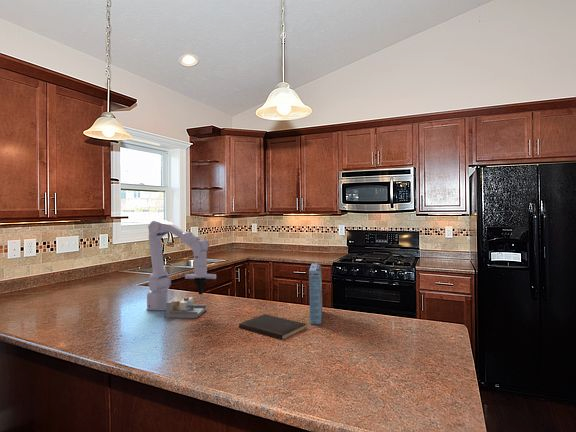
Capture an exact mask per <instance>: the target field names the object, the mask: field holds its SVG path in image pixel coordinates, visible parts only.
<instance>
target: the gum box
mask: <svg viewBox="0 0 576 432" xmlns="http://www.w3.org/2000/svg"><path fill="white" fill-rule="evenodd" d="M322 277H323V276H322V263H311V265H310V268H309V270H308V285H309V287H308V288H309V291H308V292H309V324H310V325H321V324H322V318H323V317H322V316H323V287H322V286H323V283H322V281H323V280H322Z"/></svg>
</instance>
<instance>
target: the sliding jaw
mask: <svg viewBox="0 0 576 432" xmlns="http://www.w3.org/2000/svg"><path fill="white" fill-rule="evenodd" d="M183 299H184V300H182V301H181V302H180V311H189V310H190V309H192V308H193V305H194V297H192V296H191V297H189V296H186V297H183Z"/></svg>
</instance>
